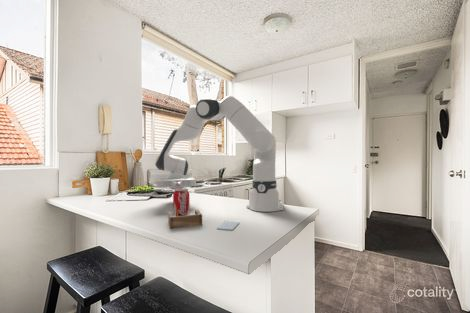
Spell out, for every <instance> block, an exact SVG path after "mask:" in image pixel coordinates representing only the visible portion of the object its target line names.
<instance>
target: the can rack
mask: <svg viewBox="0 0 470 313" xmlns="http://www.w3.org/2000/svg"><path fill="white" fill-rule="evenodd" d="M168 224H169V228H170V229H178V228H179V229H180V228H187V227H196V226H197V227H198V226H203V214H202V212H201V211H200V210H199V208H198V209H197V208H196V209H194V214H189V215H185V216H174V213H173V212H172V211H168Z"/></svg>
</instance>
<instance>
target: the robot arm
mask: <svg viewBox="0 0 470 313" xmlns="http://www.w3.org/2000/svg"><path fill="white" fill-rule="evenodd" d="M225 118H226V119H227V120H228V121H229V122H230V123H231V125H232V126H233V127H234V128H235V129H236V130H237V131H238V132H239V133H240V135H241V136H242V137H243V138H244V140H245V141H246V143H248V144H249V145H250V146H251V147H252V149H253V150H254V153H253V154H254V156H253V163H252V181H251V182H252V183H251V187H252V189H251V190H250V191H249V199H248V202H249V203H248V204H247V205H246V206H245V207H246V208H247V209H250V210H252V211H255V212H265V213H266V212H269V213H270V212H276V211H277V212H278V211H284V210H285V209H284V204H283V202H282V201H281V199H280V192H279V191H278V189H277V186H278V185H277V180H276V156H277V155H276V154H277V152H276V150H277V147H276V146H277V140H276V138H275V136H274V135H273V134H272V132H270V130H269V129H267V127H266V126H265V125H264V124H263V123H262V122H261V121H260V120H259V119H258V118H257V117H256V116H255V115H254V114H253V113H252V112H251V111H250V110H249V109H248V108H247V107H246V106H245V105H244V104H243V103H242V102H241V101H240V100H238V99H237V98H235V97H234V96H232V95H228V96H225V97H224V98H223V99H222V100H221V101H219V100H217V99H214V98H207V97H206V98H202V99H200V100H198V101H197V103H196V105H195V104H194V105H191V106H190V107H189V108H188V110H187V112H186V114H185V117H184V119H183V122H182V123H181V125H180V127H178V128H174V130H172V132H171V134H170V135H169V137H168V139H167V140H166V143H165V144H164V145H163V148H162V149H161V150H160V153H159V154H158V156H156V158H155V162H154V164H155V167H156V169H157V170H159V171H164V172H165V171H166V172H169V173H168V174H167V176H166V178H159V179H156V181H155V187H156V188H169V189H170V190H172V191H173V190H174V191H175V189H180V188H190V187H196V185H197V180H196V177H193V176H192V175H191V174H187V173H188V171H189V162H188V160H187V159H186V158H182V157H179V156H175V155H172V154H169V153H170V152H171V150H172V148H173V146H174V145H175V144H176V143H177V142H185V141H186V142H188V141H193V140H196V139H197V138H199V136H200V134H201V133H202V130H203V127H204V125H205V122H206V121H221V120H224V119H225Z"/></svg>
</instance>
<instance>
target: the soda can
mask: <svg viewBox="0 0 470 313" xmlns="http://www.w3.org/2000/svg"><path fill="white" fill-rule="evenodd" d="M172 197H173V198H172V203H173V204H172V205H173V206H172V208H173V209H172V210H173V212H172V213H173V217H175V216H185V215H190V208H191V206H190V204H191V203H190V191H189V189H188V188H187V187H185V188H180V189H175V190H174V192H173V196H172Z"/></svg>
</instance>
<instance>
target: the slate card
mask: <svg viewBox="0 0 470 313" xmlns="http://www.w3.org/2000/svg"><path fill="white" fill-rule="evenodd" d="M238 225H240V222H239V221H227V220H225V221H223V222H222V223H221V224H220V225H218V226H217V227H216V230H219V231H221V230H222V231H231V232H232V231H234V230H235V229H236V228H237V227H238Z"/></svg>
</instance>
